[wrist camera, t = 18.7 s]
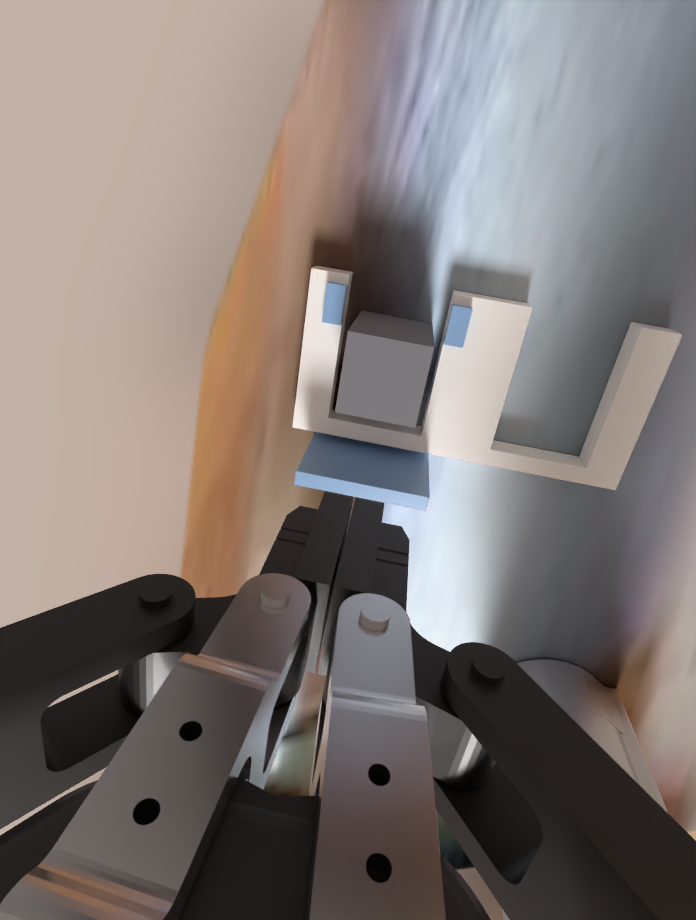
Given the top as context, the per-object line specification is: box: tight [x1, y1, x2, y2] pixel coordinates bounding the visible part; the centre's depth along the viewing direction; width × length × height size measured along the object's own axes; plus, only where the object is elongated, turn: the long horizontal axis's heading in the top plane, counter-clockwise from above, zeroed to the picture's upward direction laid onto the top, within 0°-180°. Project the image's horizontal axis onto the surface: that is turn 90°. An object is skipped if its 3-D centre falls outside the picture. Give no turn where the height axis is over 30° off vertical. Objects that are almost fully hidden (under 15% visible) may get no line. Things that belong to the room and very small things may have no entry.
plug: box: [335, 310, 434, 428], centre depth 27 cm, size 4×4×6 cm
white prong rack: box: [293, 266, 682, 511], centre depth 28 cm, size 19×10×6 cm, turn 81°
